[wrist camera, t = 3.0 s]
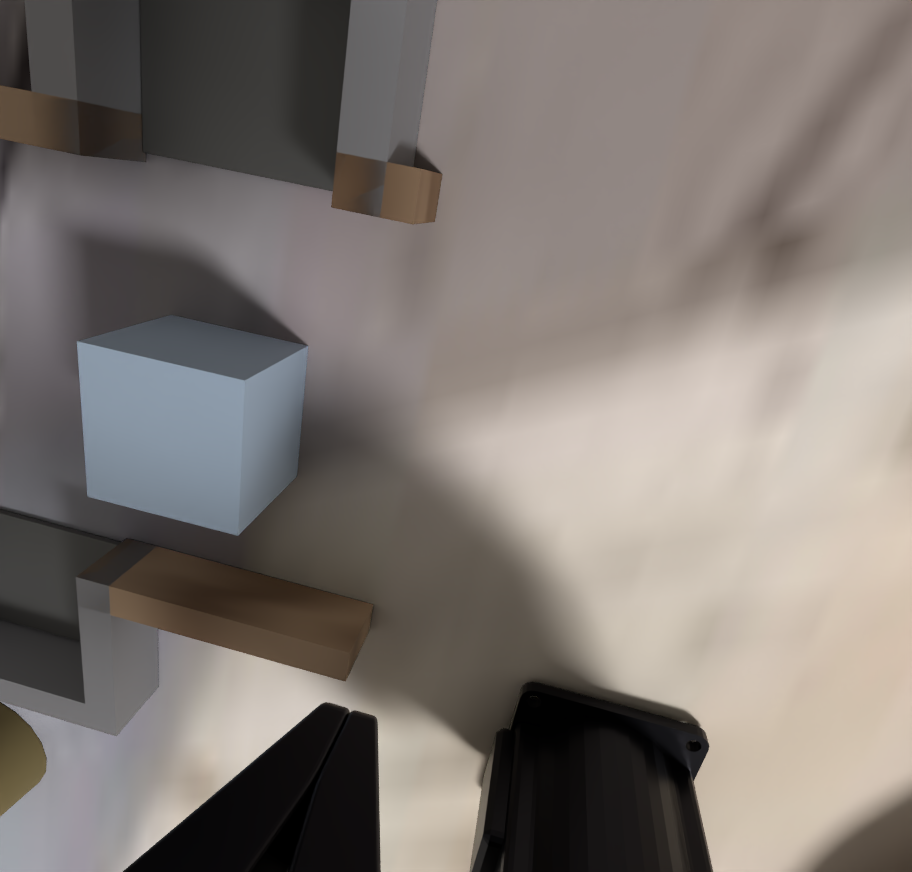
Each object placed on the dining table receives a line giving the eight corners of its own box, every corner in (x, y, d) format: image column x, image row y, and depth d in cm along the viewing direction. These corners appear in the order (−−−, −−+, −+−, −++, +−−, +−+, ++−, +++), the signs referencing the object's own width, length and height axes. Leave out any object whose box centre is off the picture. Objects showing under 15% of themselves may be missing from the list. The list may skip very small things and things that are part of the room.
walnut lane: (442, 174, 16) (421, 168, 13) (368, 630, 22) (345, 681, 19) (-186, 49, 18) (-300, 25, 15) (-96, 503, 23) (-168, 536, 21)
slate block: (309, 345, 18) (244, 380, 15) (298, 474, 20) (238, 536, 16) (172, 313, 19) (76, 341, 15) (173, 444, 20) (87, 496, 17)
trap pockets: (451, -101, 14) (428, -163, 11) (332, 737, 24) (306, 793, 22) (-176, -198, 15) (-309, -270, 13) (-36, 630, 25) (-95, 672, 23)
